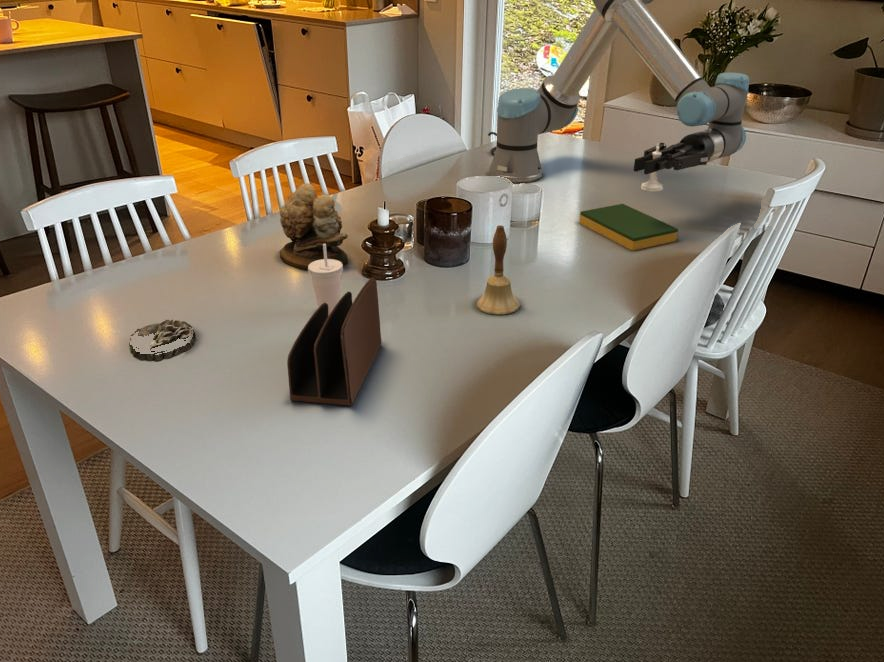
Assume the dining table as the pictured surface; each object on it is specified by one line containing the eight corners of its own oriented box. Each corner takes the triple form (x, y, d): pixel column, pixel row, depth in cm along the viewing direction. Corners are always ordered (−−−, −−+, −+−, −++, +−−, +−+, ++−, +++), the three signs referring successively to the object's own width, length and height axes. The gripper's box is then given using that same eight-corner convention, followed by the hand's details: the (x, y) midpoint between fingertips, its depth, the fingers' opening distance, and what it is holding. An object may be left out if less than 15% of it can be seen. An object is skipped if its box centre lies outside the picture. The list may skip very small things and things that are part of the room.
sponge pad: (579, 223, 183) (580, 211, 182) (621, 215, 188) (622, 203, 187) (632, 250, 168) (633, 238, 167) (676, 241, 173) (678, 228, 172)
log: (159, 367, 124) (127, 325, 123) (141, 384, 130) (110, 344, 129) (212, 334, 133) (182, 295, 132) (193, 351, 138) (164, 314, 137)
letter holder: (382, 344, 131) (378, 270, 124) (352, 407, 114) (346, 325, 107) (327, 340, 132) (320, 266, 125) (289, 401, 115) (279, 320, 108)
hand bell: (467, 306, 144) (469, 227, 136) (493, 292, 149) (496, 215, 141) (502, 319, 139) (506, 238, 131) (528, 304, 145) (532, 225, 136)
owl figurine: (364, 259, 164) (359, 182, 155) (328, 277, 155) (321, 198, 146) (303, 242, 172) (295, 169, 163) (266, 259, 164) (256, 182, 155)
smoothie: (318, 323, 138) (311, 252, 131) (307, 309, 143) (300, 240, 135) (351, 315, 140) (346, 246, 133) (339, 302, 145) (334, 234, 138)
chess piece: (661, 185, 172) (667, 141, 167) (664, 191, 168) (671, 147, 163) (639, 184, 173) (645, 140, 168) (642, 191, 169) (648, 146, 164)
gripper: (675, 126, 181) (614, 142, 167) (731, 138, 171) (672, 156, 157) (670, 157, 185) (611, 175, 171) (725, 170, 175) (667, 191, 161)
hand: (640, 166), depth 164 cm, fingers closed on chess piece, 2 cm apart
